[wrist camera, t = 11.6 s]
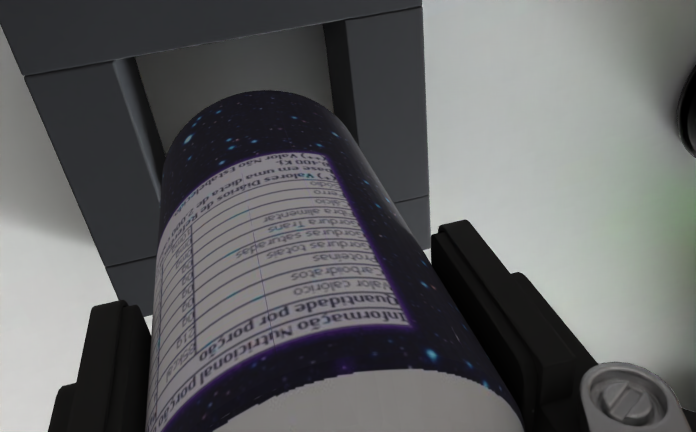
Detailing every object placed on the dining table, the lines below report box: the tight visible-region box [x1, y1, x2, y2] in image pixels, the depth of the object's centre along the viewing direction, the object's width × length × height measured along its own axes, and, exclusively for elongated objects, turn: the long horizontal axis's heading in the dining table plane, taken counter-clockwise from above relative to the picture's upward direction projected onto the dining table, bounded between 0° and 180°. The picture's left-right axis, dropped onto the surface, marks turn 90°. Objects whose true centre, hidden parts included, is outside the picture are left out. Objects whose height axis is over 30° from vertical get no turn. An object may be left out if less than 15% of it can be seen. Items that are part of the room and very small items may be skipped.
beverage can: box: [145, 90, 525, 432], centre depth 12 cm, size 6×6×12 cm
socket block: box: [0, 0, 431, 317], centre depth 20 cm, size 12×12×4 cm
